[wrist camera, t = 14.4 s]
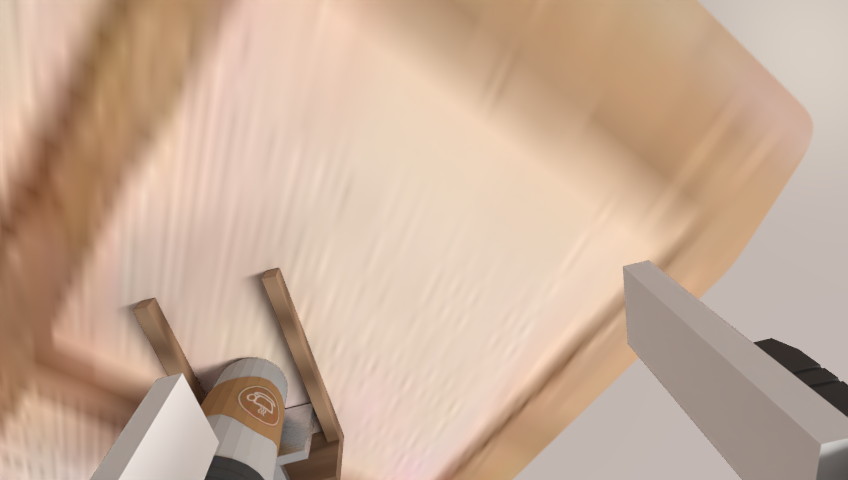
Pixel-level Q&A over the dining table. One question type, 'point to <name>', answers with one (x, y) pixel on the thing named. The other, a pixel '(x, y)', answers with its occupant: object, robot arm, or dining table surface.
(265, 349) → the dining table surface
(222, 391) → the coffee cup
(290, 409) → the pusher
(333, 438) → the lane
